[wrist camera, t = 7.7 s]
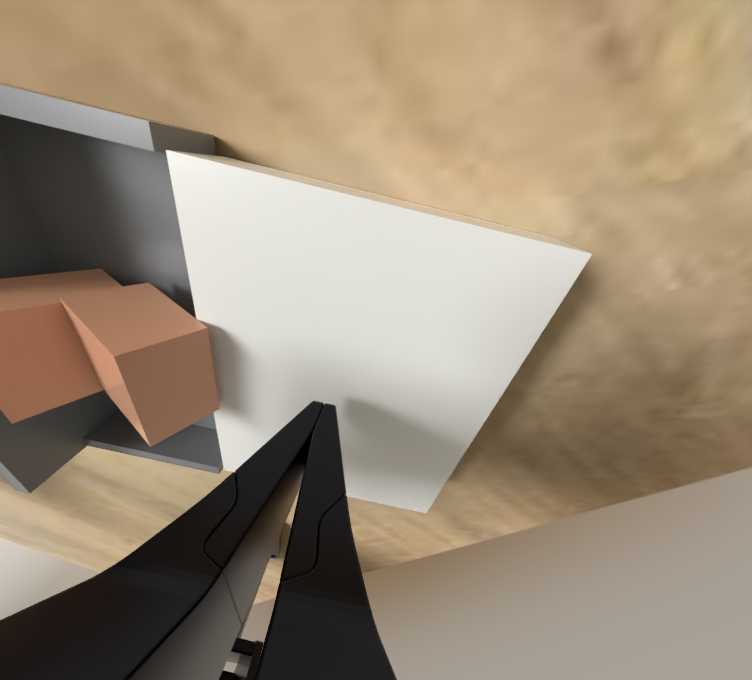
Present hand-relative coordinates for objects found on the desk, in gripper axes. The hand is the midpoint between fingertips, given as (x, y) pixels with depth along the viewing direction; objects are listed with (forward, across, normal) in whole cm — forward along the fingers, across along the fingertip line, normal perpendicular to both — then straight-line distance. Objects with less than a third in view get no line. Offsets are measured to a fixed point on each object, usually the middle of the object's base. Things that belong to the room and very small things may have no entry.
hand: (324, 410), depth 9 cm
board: (+3, -1, 0) cm, 3 cm away
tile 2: (0, +9, 0) cm, 9 cm away
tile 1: (+2, +6, 0) cm, 6 cm away
